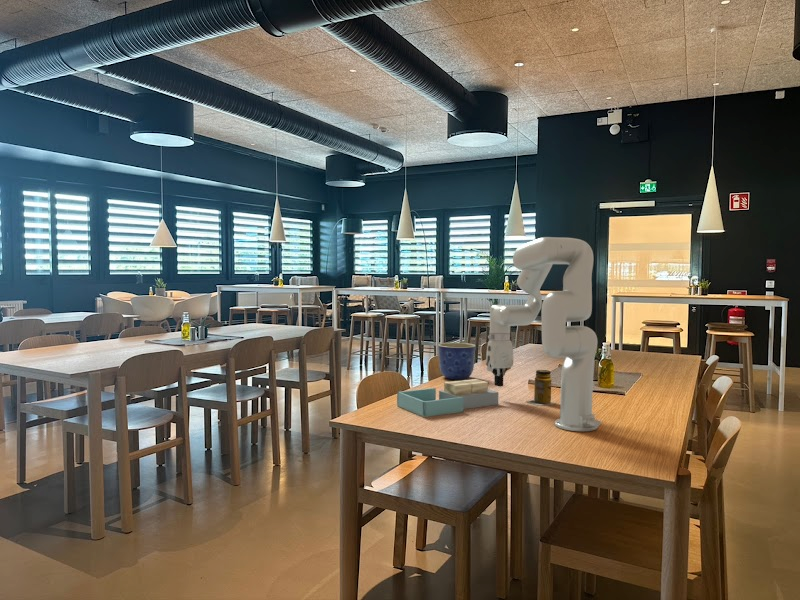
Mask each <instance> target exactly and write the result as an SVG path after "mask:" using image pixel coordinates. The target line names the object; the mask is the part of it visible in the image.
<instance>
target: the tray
mask: <svg viewBox="0 0 800 600" xmlns="http://www.w3.org/2000/svg"><path fill="white" fill-rule="evenodd" d="M436 390H437V388H436V387H433V388H423V389H414V390H403V391H397V392H396V393H397V395H396V396H397V397H396V406H397V407H398V408H402V409H403V410H406V411H409V412H411V413H413V414H416V415H418V416H420V417H423V418H427V417H436V416H442V415H443V416H444V415H448V414H456V413H463V412H464V409H463V397H457V398H449V399H441V400H439V399H437V398H436V397H437V394H436V393H437V391H436Z"/></svg>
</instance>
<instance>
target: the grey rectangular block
mask: <svg viewBox="0 0 800 600" xmlns="http://www.w3.org/2000/svg"><path fill="white" fill-rule="evenodd" d="M438 393H439V394H438V400H441V399H449V398H457V397H463V410H467V409H473V408H474V409H476V408H480V407H481V408H482V407H487V406H497V405H499V391H496V390H492V389H489V388H488V392H481V393H473V394H472V393H471V394H465V395H456V396H455V395H452V394H449V393H446V392H444V389H443V390H438Z"/></svg>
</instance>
